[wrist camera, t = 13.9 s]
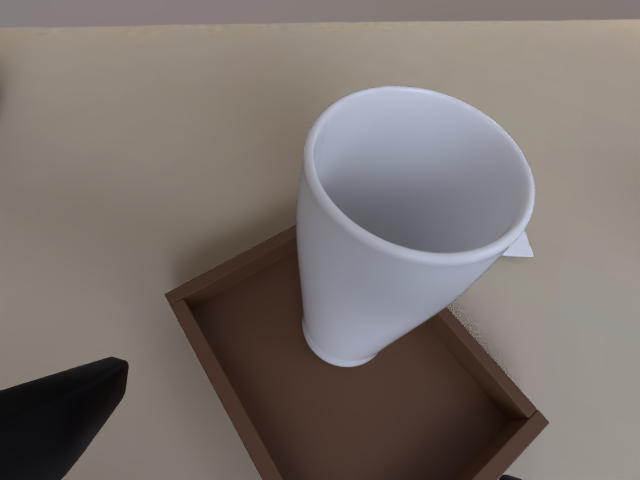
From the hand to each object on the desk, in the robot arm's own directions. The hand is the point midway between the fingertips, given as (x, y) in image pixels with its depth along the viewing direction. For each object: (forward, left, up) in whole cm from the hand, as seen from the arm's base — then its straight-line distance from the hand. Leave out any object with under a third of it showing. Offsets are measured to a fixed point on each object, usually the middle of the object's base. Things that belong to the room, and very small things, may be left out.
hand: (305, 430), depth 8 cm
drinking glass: (+4, -6, -13) cm, 15 cm away
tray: (+2, -5, -13) cm, 14 cm away
